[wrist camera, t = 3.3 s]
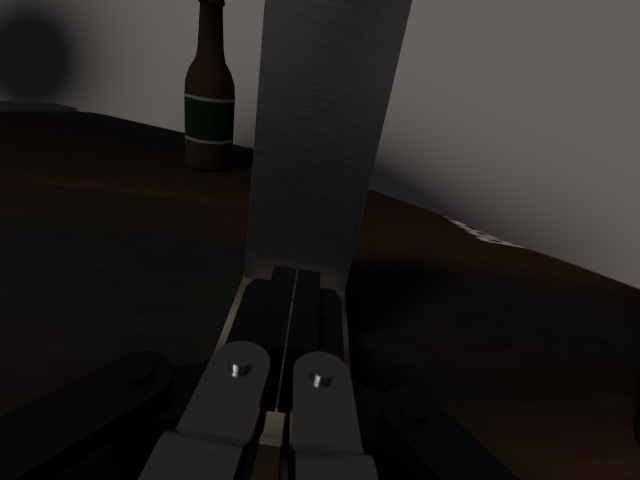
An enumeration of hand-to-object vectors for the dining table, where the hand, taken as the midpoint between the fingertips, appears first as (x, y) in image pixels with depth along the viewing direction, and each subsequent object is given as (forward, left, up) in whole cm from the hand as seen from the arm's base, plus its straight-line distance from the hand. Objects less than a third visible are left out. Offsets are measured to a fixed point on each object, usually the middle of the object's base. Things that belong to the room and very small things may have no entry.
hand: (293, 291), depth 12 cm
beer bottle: (-2, -52, -12) cm, 53 cm away
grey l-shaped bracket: (-4, -10, -10) cm, 15 cm away
